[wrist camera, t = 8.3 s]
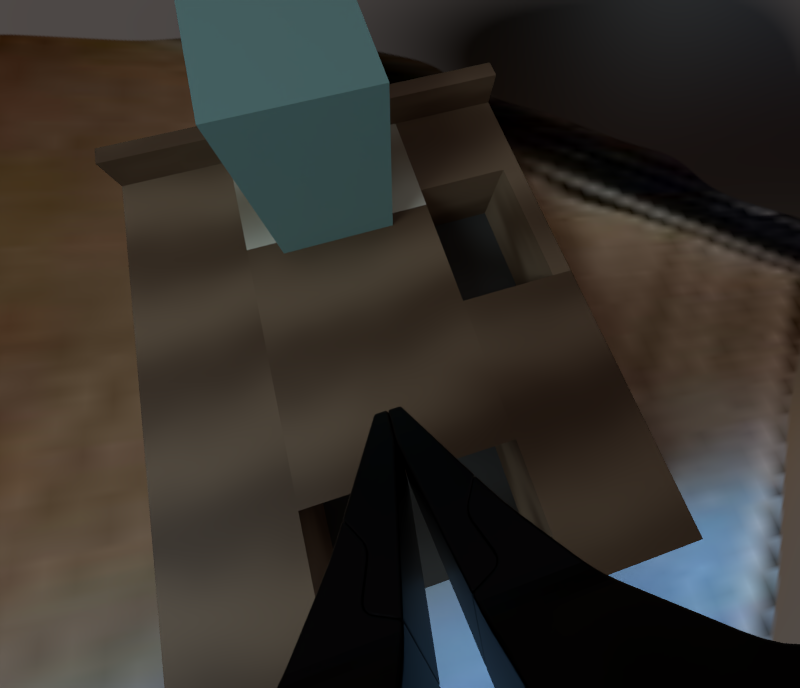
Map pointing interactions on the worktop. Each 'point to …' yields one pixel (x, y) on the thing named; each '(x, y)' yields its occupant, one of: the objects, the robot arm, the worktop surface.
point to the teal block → (294, 112)
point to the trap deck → (362, 376)
